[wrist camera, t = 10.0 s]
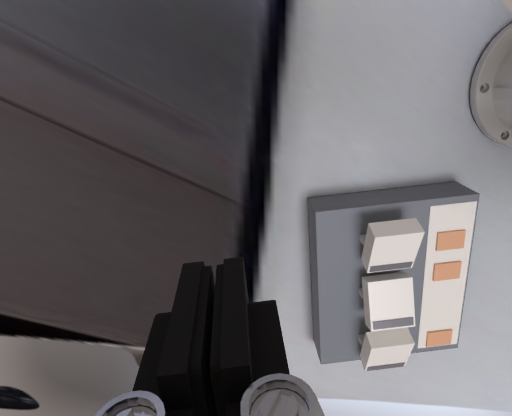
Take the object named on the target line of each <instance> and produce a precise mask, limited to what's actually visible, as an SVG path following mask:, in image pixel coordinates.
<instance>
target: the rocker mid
mask: <svg viewBox="0 0 512 416" xmlns="http://www.w3.org/2000/svg"><path fill="white" fill-rule="evenodd" d="M362 288H363V301H364V315H365V324H366V326H367V327H368V328H369V329H370V331H371V332H373V331H382V330H390V329H398V328H406V327H415V309H414V292H413V277H411V276H410V275H408V274H407V273H405V272H399V273H391V274H382V275H374V276H365V277H362Z"/></svg>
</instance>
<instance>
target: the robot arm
mask: <svg viewBox="0 0 512 416" xmlns="http://www.w3.org/2000/svg"><path fill="white" fill-rule="evenodd" d="M480 87H481V88H480ZM470 105H471V110H472V114H473V117H474V119H475V121H476V124H477V126H478V127H479V128H480V129H481V131H482V132H483V133H484V134H485V135H486V136H487V137H489V138H490V139H491V140H493V141H495V142H498V143H500V144H503V145H506V146H510V147H512V23H510V24H509V25H508V26H506V27H505V28H504V29H503V30H502V31H501V32H500V33H499V34H498V35H497V36H496V37H495V38H494V39H493V40H492V41H491V43H490V44H489V45H488V47H487V48H486V49H485V51H484V52H483V54H482V56H481V58H480V60H479V62H478V64H477V66H476V69H475V72H474V75H473V78H472V83H471V89H470ZM94 416H324V413H323V411H322V409H321V407H320V404H319V402H318V400H317V397H316V395H315V393H314V392H313V390H312V389H311V387H310V386H309V385H308V384H307V383H305V382H304V381H303V380H302V379H300V378H297V377H295V376H293V375H290V374H289V368H288V363H287V358H286V353H285V347H284V342H283V337H282V331H281V326H280V321H279V316H278V310H277V305H276V301H275V300H270V301H261V302H253V303H249V301H248V293H247V284H246V276H245V268H244V260H243V257H237V258H228V259H224V264H221V265H217V268H216V282H215V284H214V277H213V271H212V267H211V266H205V265H204V262H203V261H202V262H193V263H185V264H183V266H182V271H181V275H180V279H179V283H178V287H177V291H176V295H175V300H174V304H173V308H172V312H168V313H159V314H157V315H156V316H155V318H154V321H153V324H152V328H151V331H150V334H149V337H148V341H147V344H146V347H145V351H144V354H143V357H142V361H141V364H140V367H139V371H138V374H137V377H136V381H135V384H134V387H133V391H132V392H128V393H125V394H122V395H119V396H117V397H115V398H114V399H112V400H110V401H109V402H107V403H106V404H105V405H104V406H103V407H102V408H101V409H99V410H98V411H97V412H96V413H95V415H94Z"/></svg>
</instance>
